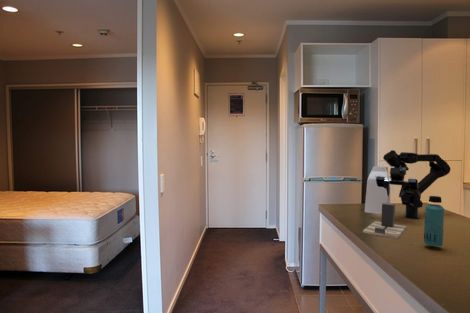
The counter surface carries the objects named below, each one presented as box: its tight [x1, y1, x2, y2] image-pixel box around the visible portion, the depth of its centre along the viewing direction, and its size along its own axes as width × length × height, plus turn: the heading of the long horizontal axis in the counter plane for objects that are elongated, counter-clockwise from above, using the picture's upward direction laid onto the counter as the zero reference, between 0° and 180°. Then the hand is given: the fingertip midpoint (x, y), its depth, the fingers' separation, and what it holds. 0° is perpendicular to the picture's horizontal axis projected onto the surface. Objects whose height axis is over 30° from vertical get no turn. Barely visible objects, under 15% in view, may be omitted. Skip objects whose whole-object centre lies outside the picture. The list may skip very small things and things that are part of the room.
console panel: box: [362, 221, 407, 240], centre depth 147 cm, size 20×14×3 cm
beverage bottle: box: [423, 195, 445, 248], centre depth 123 cm, size 6×7×20 cm
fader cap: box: [380, 203, 396, 227], centre depth 150 cm, size 4×5×10 cm
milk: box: [364, 165, 391, 215], centre depth 185 cm, size 12×12×26 cm
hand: (393, 196), depth 159 cm, fingers open, 5 cm apart
